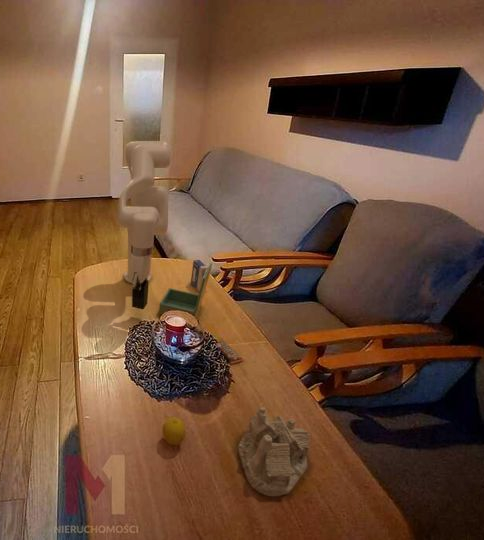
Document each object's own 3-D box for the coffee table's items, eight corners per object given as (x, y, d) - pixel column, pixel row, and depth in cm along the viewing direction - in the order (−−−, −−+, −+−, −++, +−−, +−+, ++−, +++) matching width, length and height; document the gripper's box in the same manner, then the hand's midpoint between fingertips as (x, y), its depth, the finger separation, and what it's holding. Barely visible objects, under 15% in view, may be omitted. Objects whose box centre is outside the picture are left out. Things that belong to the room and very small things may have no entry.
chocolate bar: (210, 343, 120) (210, 342, 120) (222, 340, 122) (222, 338, 121) (231, 364, 111) (231, 363, 111) (243, 361, 112) (244, 359, 112)
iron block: (136, 300, 133) (137, 278, 128) (147, 303, 131) (148, 280, 126) (131, 306, 129) (132, 283, 125) (143, 309, 128) (144, 286, 123)
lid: (202, 277, 120) (205, 278, 119) (209, 262, 129) (212, 263, 129) (194, 310, 127) (196, 311, 126) (201, 294, 137) (204, 294, 136)
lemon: (159, 433, 90) (161, 411, 86) (180, 431, 91) (183, 410, 87) (164, 452, 85) (167, 431, 82) (186, 450, 86) (190, 429, 82)
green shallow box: (158, 316, 135) (159, 303, 132) (168, 299, 145) (169, 288, 142) (193, 325, 130) (195, 312, 127) (201, 307, 139) (202, 295, 137)
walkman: (190, 283, 156) (193, 259, 151) (196, 282, 157) (199, 258, 151) (198, 292, 150) (201, 267, 144) (204, 291, 150) (208, 267, 144)
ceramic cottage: (244, 490, 77) (262, 445, 70) (233, 428, 91) (247, 386, 84) (320, 508, 74) (347, 463, 67) (297, 441, 89) (317, 399, 82)
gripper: (140, 238, 128) (138, 281, 136) (122, 257, 114) (121, 303, 123) (160, 242, 125) (157, 285, 133) (143, 261, 111) (141, 308, 120)
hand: (140, 293), depth 128 cm, fingers closed on iron block, 4 cm apart
